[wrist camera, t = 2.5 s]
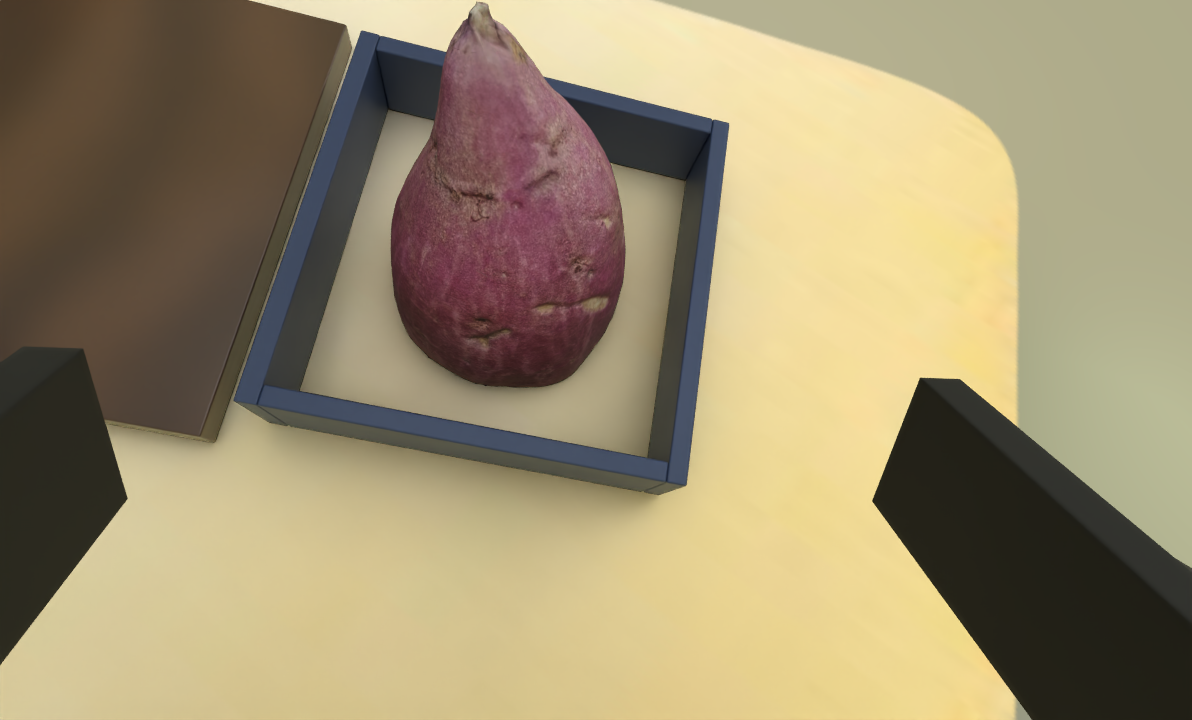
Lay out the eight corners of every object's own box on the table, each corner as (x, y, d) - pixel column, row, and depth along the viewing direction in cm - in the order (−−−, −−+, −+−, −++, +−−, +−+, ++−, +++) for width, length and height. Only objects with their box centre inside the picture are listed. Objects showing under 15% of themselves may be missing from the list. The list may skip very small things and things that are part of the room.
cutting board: (-169, 373, 25) (-209, 362, 23) (51, -28, 31) (30, -56, 29) (215, 443, 26) (199, 437, 25) (352, 47, 32) (346, 24, 31)
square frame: (268, 422, 27) (232, 400, 23) (375, 92, 32) (361, 29, 28) (660, 495, 28) (686, 486, 25) (702, 171, 33) (730, 122, 30)
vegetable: (386, 260, 33) (209, -35, 19) (575, 186, 34) (531, -138, 21) (452, 440, 28) (279, 217, 15) (667, 346, 30) (686, 64, 16)
